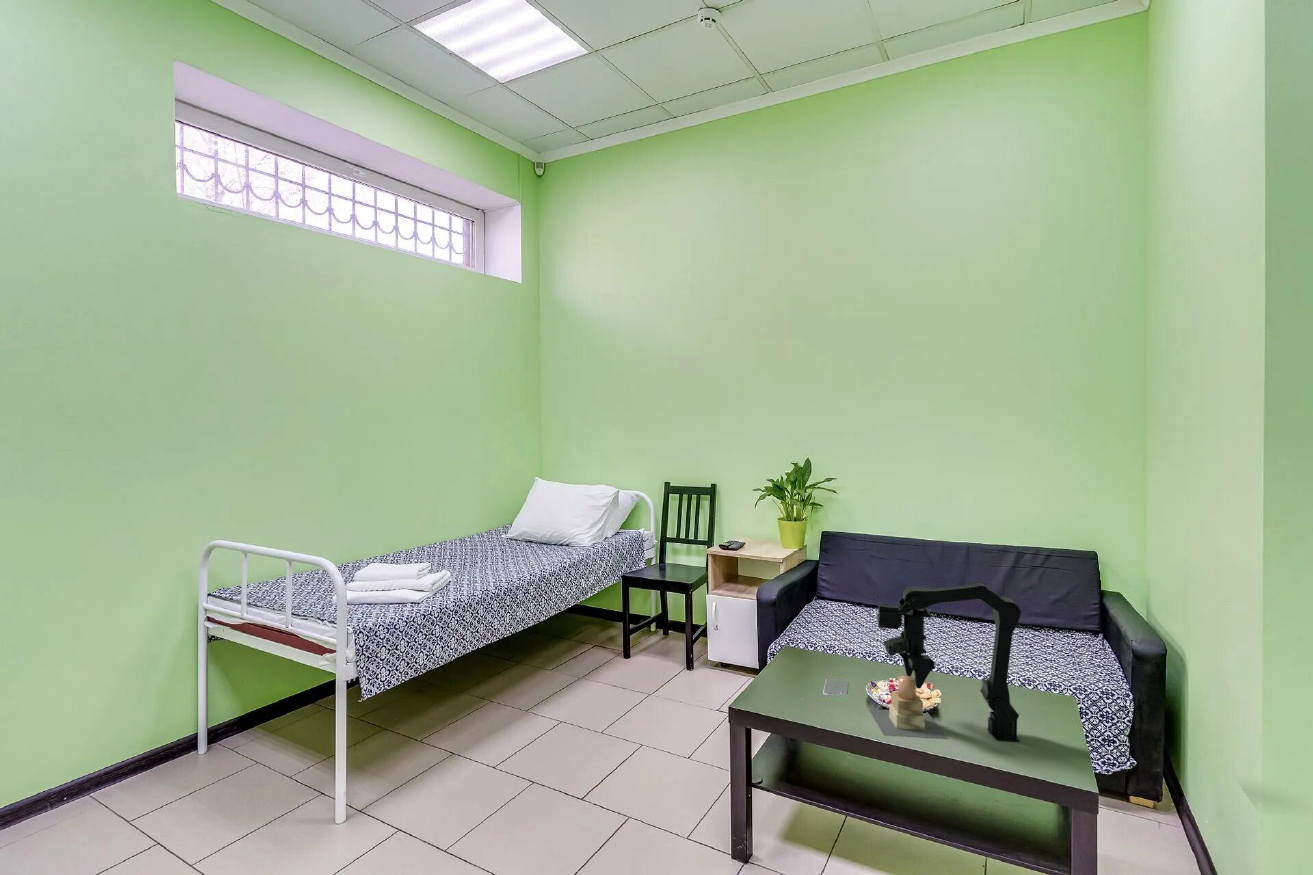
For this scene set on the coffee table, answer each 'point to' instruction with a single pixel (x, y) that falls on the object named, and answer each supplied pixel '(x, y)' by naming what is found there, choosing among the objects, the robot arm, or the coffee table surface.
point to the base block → (906, 720)
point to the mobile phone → (835, 687)
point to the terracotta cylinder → (906, 687)
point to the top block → (907, 705)
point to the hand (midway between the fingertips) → (913, 682)
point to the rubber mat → (890, 730)
